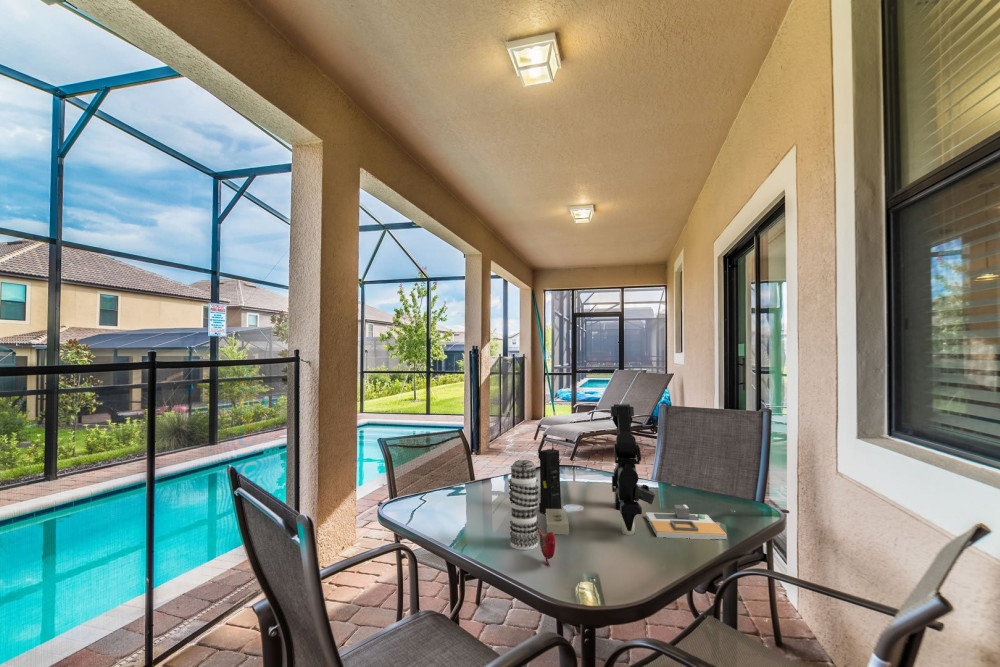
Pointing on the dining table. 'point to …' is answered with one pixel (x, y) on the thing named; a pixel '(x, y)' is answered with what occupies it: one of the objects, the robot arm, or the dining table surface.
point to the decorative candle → (523, 505)
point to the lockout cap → (624, 529)
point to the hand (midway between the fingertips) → (628, 527)
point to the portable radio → (549, 480)
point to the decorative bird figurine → (547, 545)
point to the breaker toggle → (681, 511)
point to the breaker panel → (685, 526)
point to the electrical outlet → (557, 521)
